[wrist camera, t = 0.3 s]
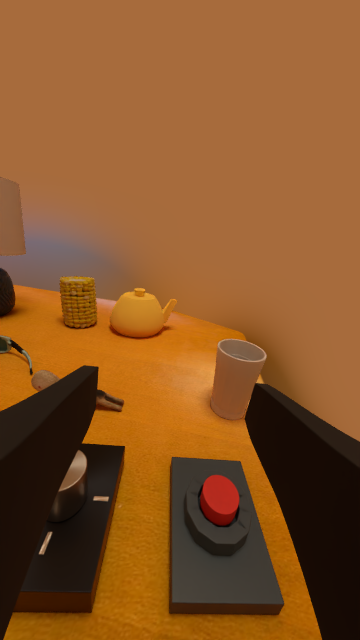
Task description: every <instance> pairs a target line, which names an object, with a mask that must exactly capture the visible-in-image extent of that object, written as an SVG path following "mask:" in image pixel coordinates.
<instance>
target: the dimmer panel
mask: <svg viewBox="0 0 360 640" xmlns="http://www.w3.org/2000/svg"><path fill="white" fill-rule="evenodd" d="M78 450H80V451H81V452H83V453H84V455H85V456H86V459H87V482H88V493H87V497H86V500H85V502H84V504H83V506H82V507H81V508H80V510H79V511H78V512H77V513H76V514H75V515H73V516H72V517H70V518H69V519H66V520H64V521H61V522H51V521H48V520H47V521H46V524H45V526H44V529H43V531H42V534H41V537H40V539H39V542H38V545H37V547H36V550H35V553H34V555H33V558H32V561H31V563H30V566H29V569H28V571H27V574H26V577H25V580H24V582H23V585H22V588H21V591H20V594H19V596H18V599H17V602H16V605H15V608H14V610H13V612H83V613H91V612H92V608H93V603H94V599H95V594H96V589H97V585H98V580H99V576H100V571H101V566H102V562H103V557H104V553H105V548H106V543H107V539H108V534H109V530H110V525H111V520H112V516H113V511H114V506H115V502H116V497H117V493H118V488H119V483H120V479H121V474H122V470H123V465H124V452H125V446H114V445H99V444H84V443H81V445H80V447H79V449H78Z"/></svg>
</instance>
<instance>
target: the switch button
mask: <svg viewBox="0 0 360 640" xmlns="http://www.w3.org/2000/svg"><path fill="white" fill-rule="evenodd" d="M200 505H201V509H202V511H203V513H204V515H205V516H206V518H207V519H208V520H209V521H210V522H212V523H213V524H215V525H218V526H225V525H228V524H230V523H231V522H232V521H233V519H234V517H235V514H236V511H237V508H238V505H239V494H238V491H237V489H236V487H235V485H234V484H233V483H232V482H231V481H230V480H229V479H227V478H226V477H224V476H221V475H212V476H210V477H208V478H207V479H206V481H205V482H204V485H203V489H202V493H201V497H200Z"/></svg>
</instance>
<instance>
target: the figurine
mask: <svg viewBox="0 0 360 640" xmlns="http://www.w3.org/2000/svg"><path fill="white" fill-rule="evenodd" d="M59 380H60V379H59V378H58V377H57V376H56V375H54V374H53V373H51V372H49V371H46V370H41V371H38V372H36V373H35V374H34V376H33V378H32V381H31V383H32V386H33V387H34V388H35V389H36V390H38V391H42V390H43V389H45V388H47V387H49V386H50V385H52V384H54V383H55V382H57V381H59ZM109 401H110V402H109ZM111 402H114V403H118V404H122V405H123V403H124V400H121V399H119V398H116V397H113V396H111V395H109V394H107V393H105V392H104V391H102V390H97V401H96V403H97V404H99V405H102V406H105V407H108V408H112V409H115V410H117V411H121V409H122V406H120V405H117V404H114V403H111Z"/></svg>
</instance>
